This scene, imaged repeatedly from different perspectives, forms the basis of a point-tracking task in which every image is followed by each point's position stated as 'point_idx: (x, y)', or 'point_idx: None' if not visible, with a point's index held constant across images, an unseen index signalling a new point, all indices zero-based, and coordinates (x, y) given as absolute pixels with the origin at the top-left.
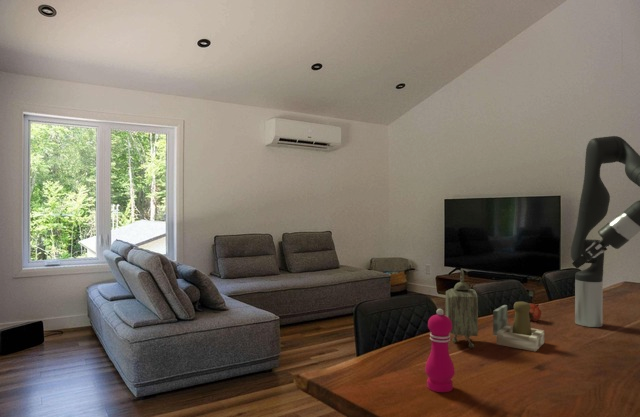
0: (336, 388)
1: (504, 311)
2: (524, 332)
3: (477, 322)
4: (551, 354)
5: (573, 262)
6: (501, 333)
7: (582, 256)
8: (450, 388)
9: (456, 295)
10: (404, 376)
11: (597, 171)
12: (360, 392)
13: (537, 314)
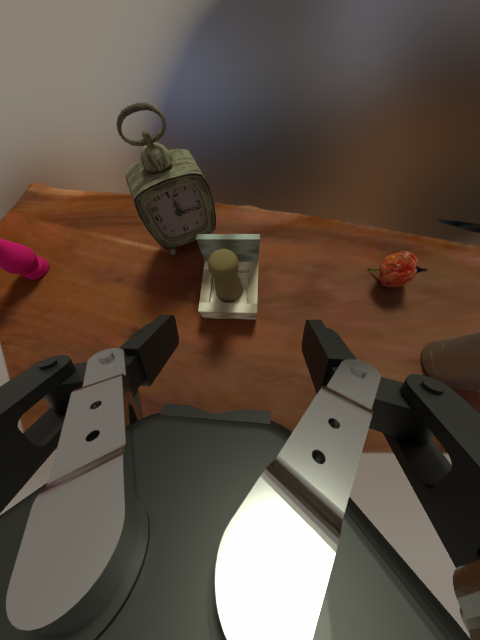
0: (13, 212)
1: (241, 245)
2: (216, 292)
3: (152, 235)
4: (202, 337)
5: (157, 318)
6: (204, 268)
7: (316, 340)
8: (28, 278)
9: (127, 172)
10: (56, 237)
11: None
12: (9, 228)
13: (386, 281)
